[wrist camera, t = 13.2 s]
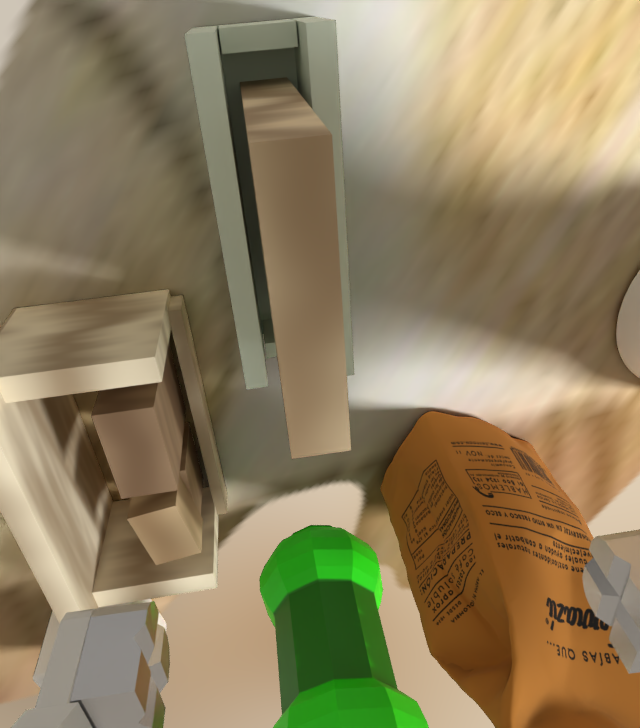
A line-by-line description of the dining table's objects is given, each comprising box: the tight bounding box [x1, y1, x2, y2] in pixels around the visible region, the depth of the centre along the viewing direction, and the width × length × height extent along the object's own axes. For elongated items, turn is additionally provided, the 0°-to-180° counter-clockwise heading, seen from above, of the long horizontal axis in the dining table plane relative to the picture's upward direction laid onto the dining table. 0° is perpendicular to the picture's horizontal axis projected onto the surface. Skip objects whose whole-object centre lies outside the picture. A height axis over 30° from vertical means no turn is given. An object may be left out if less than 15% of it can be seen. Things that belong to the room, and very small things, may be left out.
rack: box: [0, 289, 227, 624], centre depth 36 cm, size 10×18×10 cm, turn 4°
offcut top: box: [127, 474, 203, 565], centre depth 37 cm, size 3×4×3 cm
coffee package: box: [381, 411, 640, 728], centre depth 37 cm, size 10×12×22 cm
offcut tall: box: [91, 343, 186, 499], centre depth 35 cm, size 3×6×8 cm, turn 4°
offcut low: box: [179, 422, 203, 515], centre depth 40 cm, size 3×5×5 cm, turn 4°
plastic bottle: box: [260, 525, 429, 728], centre depth 39 cm, size 10×10×25 cm
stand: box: [184, 17, 354, 390], centre depth 30 cm, size 6×17×7 cm, turn 4°
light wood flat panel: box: [240, 77, 351, 459], centre depth 26 cm, size 2×12×15 cm, turn 4°
